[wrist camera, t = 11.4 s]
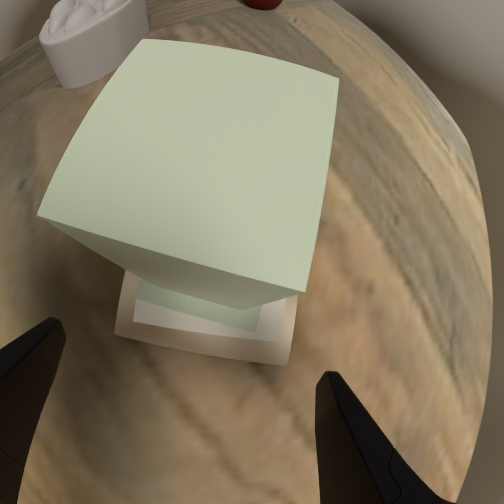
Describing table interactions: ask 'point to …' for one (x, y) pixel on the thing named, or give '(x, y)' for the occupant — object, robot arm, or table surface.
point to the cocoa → (263, 3)
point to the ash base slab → (200, 341)
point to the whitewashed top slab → (164, 317)
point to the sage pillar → (201, 177)
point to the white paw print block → (92, 37)
